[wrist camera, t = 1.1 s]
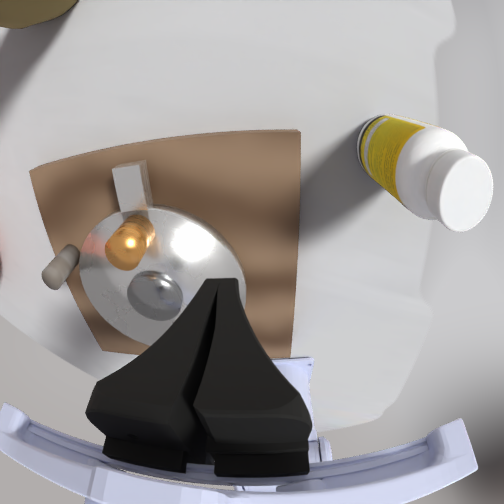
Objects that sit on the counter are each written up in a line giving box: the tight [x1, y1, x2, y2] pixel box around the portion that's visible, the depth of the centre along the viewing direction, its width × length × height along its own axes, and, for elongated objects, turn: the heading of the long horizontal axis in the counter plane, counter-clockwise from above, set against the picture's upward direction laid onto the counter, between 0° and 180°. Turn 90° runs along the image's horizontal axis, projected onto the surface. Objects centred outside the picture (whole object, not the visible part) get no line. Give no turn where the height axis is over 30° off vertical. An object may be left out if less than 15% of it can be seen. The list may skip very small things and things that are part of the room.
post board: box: [29, 130, 301, 358], centre depth 22 cm, size 22×22×6 cm
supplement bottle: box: [357, 114, 493, 232], centre depth 14 cm, size 5×5×10 cm
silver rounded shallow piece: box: [79, 160, 246, 346], centre depth 19 cm, size 17×14×4 cm
